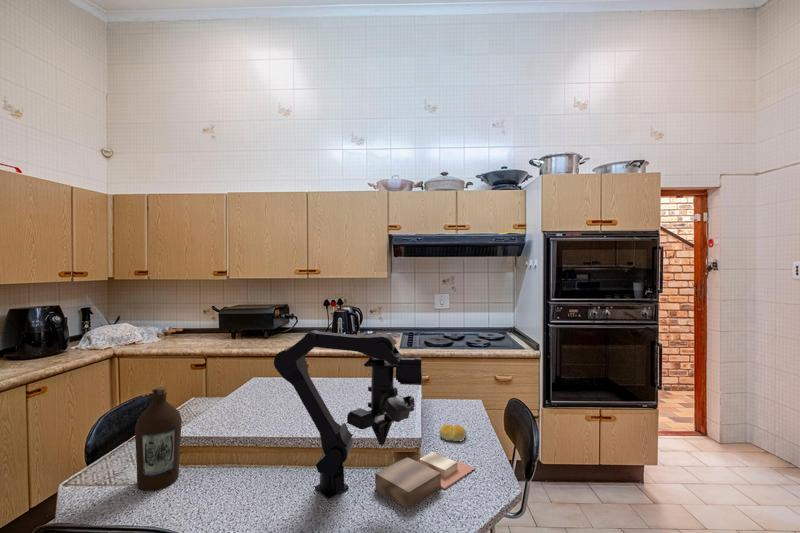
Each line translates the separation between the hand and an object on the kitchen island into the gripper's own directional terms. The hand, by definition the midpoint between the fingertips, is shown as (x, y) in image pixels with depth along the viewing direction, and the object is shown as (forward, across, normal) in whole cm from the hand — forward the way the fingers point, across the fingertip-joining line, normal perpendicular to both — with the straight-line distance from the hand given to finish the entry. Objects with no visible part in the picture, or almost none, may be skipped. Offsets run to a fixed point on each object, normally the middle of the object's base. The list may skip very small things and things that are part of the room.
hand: (381, 444), depth 96 cm
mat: (+12, +19, -4) cm, 23 cm away
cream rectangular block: (+9, +19, -4) cm, 21 cm away
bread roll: (+12, +39, +6) cm, 41 cm away
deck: (+12, +6, -4) cm, 14 cm away
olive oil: (+13, -38, +47) cm, 62 cm away
